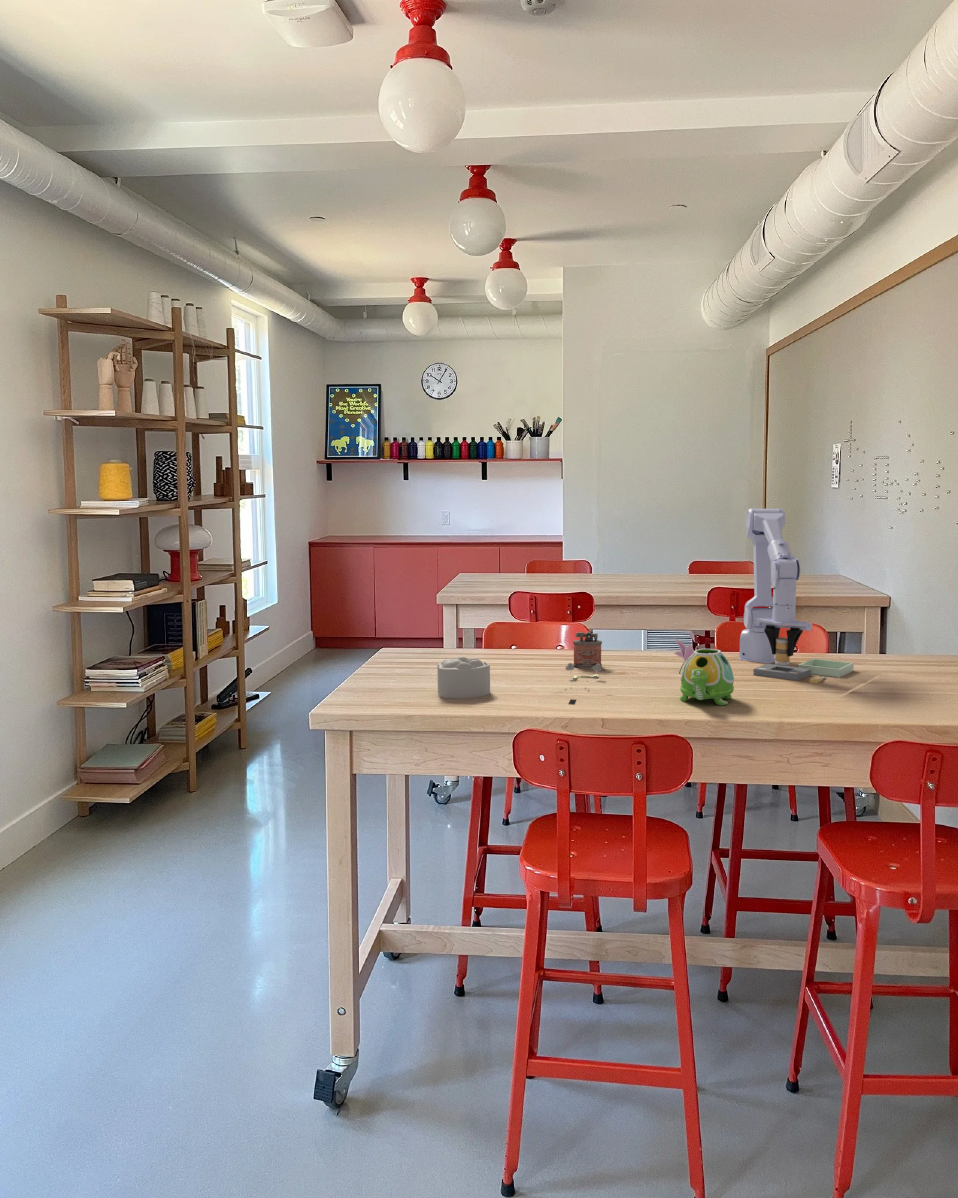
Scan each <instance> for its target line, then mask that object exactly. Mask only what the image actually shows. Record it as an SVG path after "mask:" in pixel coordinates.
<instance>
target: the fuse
mask: <svg viewBox="0 0 958 1198" xmlns="http://www.w3.org/2000/svg"><path fill="white" fill-rule="evenodd" d="M787 651H788V638H787V637H779V638H776V651H775V662H774V665H778V666H790V663H791V661H790V657H791V656H788V654H787Z"/></svg>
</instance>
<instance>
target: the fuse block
mask: <svg viewBox="0 0 958 1198" xmlns="http://www.w3.org/2000/svg"><path fill="white" fill-rule="evenodd" d="M753 676H759V677H765V678H772V679H773V678H775V679H781V680H788V681H797V682H798V681H801V680H802V679H805V678H807V677H809V676H812V674H811V669H806V668H798V666H797V667H796V666H790V665H789V666H778V665H775V663H774V664H772V663H764V664H763V665H760V666H757V667H755V668H753Z"/></svg>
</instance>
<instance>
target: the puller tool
mask: <svg viewBox="0 0 958 1198" xmlns="http://www.w3.org/2000/svg"><path fill="white" fill-rule="evenodd" d="M826 679H827V676H822V675H819V676H814V677H811V678H809V683H812V684H819V683H821V682H822V681H824V680H826Z"/></svg>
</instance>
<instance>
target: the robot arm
mask: <svg viewBox="0 0 958 1198" xmlns="http://www.w3.org/2000/svg"><path fill="white" fill-rule="evenodd" d="M785 524H786V513H785V510H784V509H783V508H782V507H779V508H753V507H752V508H749V509H748V510H747V512H746V514H745V533H746V538H748V539H749V540H751V541H752V546H753V547H752V549H753V550H752V551H753V582H754V583H753V585H754V586H753V587H754V589H753V591H754V592H753V593H754V596H753V597H751V599H749V600H747V601H746V602H745V604H744V611H743V612H744V613H743V624H744V627H745V629H742V631H741V633H740V636H739V637H740V638H739V658H737V660H738V661H745V662H755V663H760V664H761V663H762V664H772V663H775V651H776V638H780V631H781V628H782V629H787V630H786V638H788V651H787V654H788V656H790V657H793V656H794V652H795V650H796V649H795V648H796V646H797V643H798V641H799V639H800V637H801V635H802V634H803V631H806V632H810V631H812V630H813V623H812V622H807V621H801V620H796V609H797V608H796V605H797V604H796V600H797V581H798V580H799V579H800V577H801V563H800V560H799V559H798V558H797V557H796V556H793V553H792V551H791V548H790V545H789V543H788V541H786V540H784V538H783V533H782V531H783V529H784V527H785ZM772 587H773V588H772ZM772 589H773V592H772Z"/></svg>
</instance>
